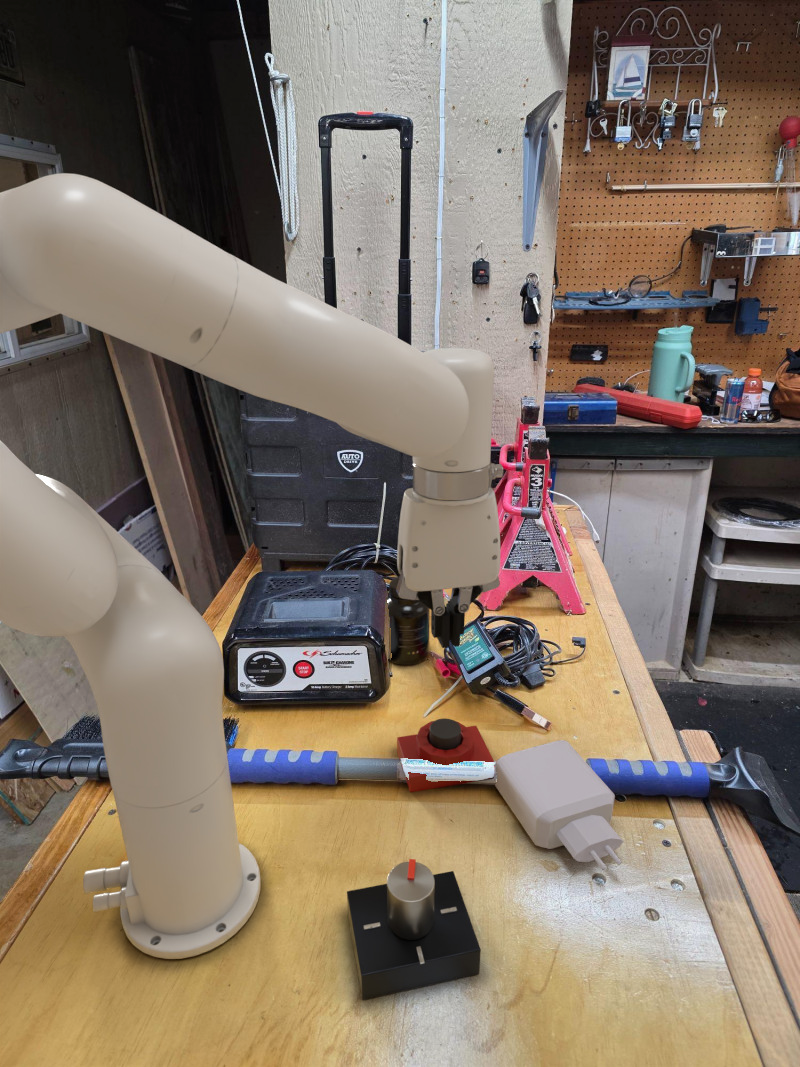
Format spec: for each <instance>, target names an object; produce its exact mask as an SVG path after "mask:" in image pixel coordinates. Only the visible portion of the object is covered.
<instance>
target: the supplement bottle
mask: <svg viewBox="0 0 800 1067" xmlns="http://www.w3.org/2000/svg"><path fill="white" fill-rule="evenodd" d="M399 577H400V576H397V577H393V579H391V580H390V582H389V584H388V586H389V587H388V588H389V589H388V596H387V597H386V599H387V603H388V609H389V617H390V628H391V653H392V658H391V661H390V662H392V663H393V664H396V665H401V666H413V665H416V664H417V665H418V664H420V663H422V662H424V660H426V659H427V658H428V656H429V653H430V618H431V609H429V608H428V607H427V606H426V605H424V604H423V603H422V602H421V601H420V600H409V599H402V598H400V597H399V595H398V593H397V591H396V588H397V585H398V581H399Z"/></svg>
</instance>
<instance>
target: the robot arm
mask: <svg viewBox="0 0 800 1067" xmlns="http://www.w3.org/2000/svg"><path fill="white" fill-rule="evenodd" d="M57 315H63V316H65V317H67V318H69V319H72V320H74V321H76V322H78V323H82V324H84V325H86V326H88V327H91V328H92V329H95V330H97V331H100V332H102V333H105V334H107V335H109V336H112V337H114V338H117V339H119V340H121V341H124V342H126V343H128V344H131V345H133V346H136V347H138V348H139V349H143V350H145V351H148V352H150V353H152V354H155V355H157V356H158V357H161V358H163V359H166V360H168V361H171V362H173V363H175V364H178V365H180V366H183V367H184V368H187V369H189V370H190V371H191V370H192V371H194V372H196V373H199V374H201V375H203V376H205V377H208V378H210V379H211V380H214V381H217V382H219V383H222V384H224V385H227V386H229V387H232V388H234V389H237V390H239V391H242V392H244V393H247V394H250V395H252V396H255V397H258V398H261V399H264V400H268V401H271V402H275V403H279V404H283V405H287V406H289V407H293V408H297V409H299V410H302V411H305V412H308V413H310V414H313V415H316V416H318V417H322V418H323V419H327V420H329V421H331V422H333V423H336V424H337V425H338V426H340V427H341V428H342V429H344V430H345V431H347V432H349V433H351V434H352V435H356V436H358V437H361V438H363V439H365V440H368V441H371V442H374V443H377V444H380V445H382V446H385V447H388V448H391V449H393V450H395V451H398V452H400V453H402V454H405V455H408V456H411V457H412V487H411V488H410V487H409V488H406V490H405V491H404V492H403V497H402V502H401V508H400V515H399V523H398V532H397V533H398V535H397V549H396V551H397V552H396V564H397V571H398V574H399V576H398V577H399V581H398V585H397V588H396V591H397V593H398V595H399V597H400V598H402V599H409V600H420V601H421V602H422V603H423V604H424V605H426V606H427V607H428V608H429V609H430V630H431V635H432V637H433V638H434V639H435V638H437V640H438V643H439V645H440V646H441V648H442V649H446V648H448V647H449V646H450V644H451V646H454V648H455V647H460V646H461V635H464V634H465V622H466V621H465V618H466V617H465V616H466V613H468V611H469V610H470V606H471V604H472V603H473V602H474V601H475V600H476V599H477V598H478V597H479V596H481V594H482V593H488V592H489V591H492V590H495V589H497V588H499V587H500V585H501V582H500V577H499V575H500V571H501V570H500V569H501V532H500V521H499V520H500V519H499V512H498V504H497V498H496V493H495V491H494V489H493V488H492V483H493V480H496V479H499V478H501V479H502V478H503V476H504V466H503V465H502V464H501V463H499V464H498V463H497V464H495V463H492V461H491V453H492V452H491V451H492V449H491V448H492V432H493V431H492V430H493V411H494V410H493V406H494V384H495V367H494V366H495V365H494V362H493V359H492V357H491V356H490V355H489V354H488V353H486V352H484V351H482V350H479V349H473V348H463V347H445V348H443V347H442V348H434V349H429V350H425V351H421V350H419V349H418V348H417V347H415V346H413V345H411V344H409V343H408V342H406V341H404V340H402V339H400V338H398V337H397V336H395V335H394V334H391V333H389V332H387V331H386V330H384V329H382V328H379V327H377V326H375V325H373V324H372V323H369V322H367V321H365V320H362V319H361V318H358V317H356V316H353V315H352V314H350V313H347V312H345V311H343V310H340V309H338V308H336V307H334V306H332V305H330V304H328V303H326V302H324V301H322V300H320V299H319V298H316V297H314V296H313V295H311V294H309V293H307V292H305V291H303V290H301V289H299V288H297V287H295V286H292V285H290V284H288V283H285V282H283V281H281V280H279V279H277V278H275V277H273V276H272V275H269V274H267V273H266V272H264V271H262V270H260V269H258V268H256V267H254V266H253V265H251V264H249V263H247V262H246V261H244V260H242V259H240V258H238V257H236V256H235V255H233V254H232V253H229V252H227V251H225V250H223V249H222V248H220V247H218V246H216V245H215V244H213V243H211V242H209V241H208V240H207V239H204V238H203V237H201V236H199V235H197V234H196V233H194V232H192V231H190V230H189V229H187V228H186V227H184V226H182V225H180V224H178V223H177V222H175V221H174V220H172V219H169V218H168V217H167V216H165V215H163V214H161V213H159V212H158V211H156V210H154V209H152V208H151V207H149V206H147V205H145V204H144V203H142V202H140V201H138V200H136V199H134V198H133V197H131V196H130V195H128V194H126V193H124V192H122V191H121V190H118V189H116V188H114V187H112V186H110V185H108V184H106V183H104V182H103V181H100V180H98V179H95V178H92V177H89V176H86V175H82V174H78V173H68V172H67V173H66V172H64V173H63V172H61V173H53V174H48V175H45V176H42V177H39V178H36V179H34V180H31V181H29V182H27V183H24V184H22V185H19V186H17V187H13V188H10V189H7V190H4V191H1V192H0V335H1V334H4V333H7V332H10V331H14V330H17V329H20V328H23V327H26V326H28V325H31V324H35V323H37V322H40V321H43V320H47V319H49V318H51V317H55V316H57ZM449 589H451V596H450V599H449V600H447V603H445V598H444V590H449ZM0 622H1V623H3V624H4V625H6V626H7V627H9V628H11V629H14V630H17V631H19V632H21V633H24V634H25V635H26V634H27V635H32V636H35V637H36V636H37V637H41V638H62V637H63V638H64V639H66V640H67V641H68V642H69V643H70V645H71V647H72V649H73V651H74V653H75V655H76V657H77V660H78V662H79V665H80V667H81V668H82V671H83V673H84V675H85V677H86V679H87V681H88V684H89V687H90V689H91V692H92V695H93V698H94V702H95V705H96V708H97V713H98V718H99V723H100V730H101V739H102V746H103V753H104V758H105V759H104V760H105V763H106V764H105V765H106V768H107V773H108V778H109V782H110V787H111V789H112V793H113V798H114V803H115V808H116V811H117V816H118V821H119V825H120V830H121V835H122V839H123V844H124V848H125V853H126V857H127V860H123V861H121V862H120V865H119V866H114V867H108V868H107V867H100V868H95V869H89V870H85V871H84V874H83V882H82V887H83V893H84V894H85V895H86V894H91V893H98V892H102V893H98V894H94V895H93V898H92V910H93V912H94V913H96V912H101V911H106V910H110V909H114V908H118V907H120V919H121V920H120V921H121V924H122V928H123V931H124V934H125V936H126V938H127V939H128V940H129V942H130V943H131V945H133V946H134V947H135V948H136V949H138V950H139V951H141V952H142V953H144V954H146V955H149V956H151V957H154V958H159V959H165V960H176V959H177V960H179V959H187V958H192V957H196V956H199V955H201V954H205V953H207V952H210V951H212V950H214V949H215V948H217V947H219V946H221V945H223V944H224V943H225V942H227V941H228V940H230V938H232V937H233V936H235V935H236V934H237V933H238V932H239V931H240V930H241V929H242V927H244V925H245V924H246V923H247V922H248V920H249V919H250V917H251V916H252V914H253V913H254V911H255V908H256V906H257V904H258V902H259V898H260V893H261V881H262V880H261V874H260V868H259V864H258V862H257V859H256V857H255V856H254V855H253V853H252V851H250V850H249V848H247V847H246V846H245V845H243V844H241V843H240V841H239V834H238V827H237V820H236V812H235V805H234V804H235V803H234V796H233V788H232V781H231V774H230V766H229V757H228V753H227V744H226V737H225V736H226V735H225V728H224V714H223V696H224V682H225V681H224V680H225V666H224V658H223V653H222V650H221V647H220V644H219V642H218V640H217V638H216V635H215V634H214V631H213V630H212V628H211V627H210V625H209V624H208V623H207V621H206V620H205V618H204V617H203V616H202V615H201V613H200V612H199V611H198V610H197V609H196V608H195V607H194V606H193V604H192V603H191V602H190V601H189V600H188V599H187V598H186V597H185V596H184V595H183V594H182V593H181V592H180V591H179V590H178V589H177V588H176V587H175V586H174V585H173V584H172V583H171V581H170V580H169V579H168V578H167V577H166V576H165V575H164V573H162V572H161V571H160V570H159V569H158V568H157V566H155V565H154V564H153V563H152V562H150V561H149V559H147V558H146V557H145V556H144V555H143V554H142V553H141V552H140V551H139V550H137V548H135V546H133V545H132V544H131V543H130V542H129V541H128V540H127V539H125V537H123V536H122V535H121V534H120V533H119V532H118V531H117V529H116V528H114V527H113V526H112V525H111V524H110V523H109V522H108V521H107V520H105V518H103V517H102V516H101V515H100V514H99V513H98V512H96V510H95V509H93V507H92V506H91V505H89V504H88V502H86V500H84V499H83V498H82V497H81V496H79V495H78V494H77V493H76V492H75V490H73V489H72V488H70V487H69V486H67V485H66V484H64V483H63V482H60V481H59V480H56V479H54V478H52V477H49V476H45V475H41V474H37V473H35V472H34V471H33V470H32V469H30V467H28V465H26V464H25V463H24V462H23V461H22V460H20V459H19V458H18V457H17V456H16V454H14V453H13V452H12V451H11V450H10V449H9V447H8V446H7V445H6V444H5V443H4V442H3V441H2V440H0ZM119 887H120V890H119V891H114V892H113V891H112V892H109V891H108V892H104V891H107V890H108V889H115V888H119Z"/></svg>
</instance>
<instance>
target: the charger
mask: <svg viewBox="0 0 800 1067" xmlns="http://www.w3.org/2000/svg"><path fill="white" fill-rule="evenodd" d="M496 772H497V773H496ZM495 774H497V782H496V784H495V783H494V786H495V788H496V789H497V791H498V793H499V794H500V795H501V797H502V798H503V800H504V801H505V803H506V804H507V806H508V807H509V808H510V810H511V811H512V813H513V814H514V816H515V817H516V819H517V820H518V821H519V823H520V825H521V826H522V828H523V829H524V831H525V832H526V834H527V835H528V837H529V838H530V839H531V841H532V843H533V844H534V845H535V846H537V847H540V848H546V849H548V850H552V849H556V848H559V847H562V846H564V847H565V849H566V850H567V852H568V853H569V854H570V855H571V857H572V858H573V860H575V861H577V862H581V863H590V862H593V861H595V863H596V864H597V865H598V866H599V868H600V869H601V870H602V871H606V870H607V868H608V867H607V866H606V864H605V863H604V861H603V860H602V858H605V857H608V856H610V857H611V859H612V860H613V861H614V862H615V864H617V866H621V865H622V863H623V861H622V860H621V859H620V858H619V856H618V855H617V854H616V852H615V851H616V850H618V849H619V848H620V847H621V846H622V845H623V843H624V840H623V839H622V837H621V836H620V835H619V834H618V833H617V832H616V830H615V829H614V828H613V827H612V826H611V823H612V818H613V813H614V812H613V811H614V806H615V798H616V796H615V793H614V792H613V791H612V790H611V789H610V787H608V785H607V784H606V783H605V782H604V781H603V780H602V778H600V776H599V775H598V774H597V773H596V772H595V771H594V769H592V767H591V766H590V765H589V764H588V763H587V762H586V761H585V759H584V758H583V757H582V756H581V754H579V752H578V751H576V749H575V748H574V747H573V746H572V745H571V743H570V742H568V741H567V740H564V739H560V740H554V741H551V742H547V743H544V744H539V745H536V746H532V747H528V748H525V749H522V750H517V751H514V752H510V753H507V754H504V755H503V756H501V757H500V758H498V759H497V761H496V762H495Z"/></svg>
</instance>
